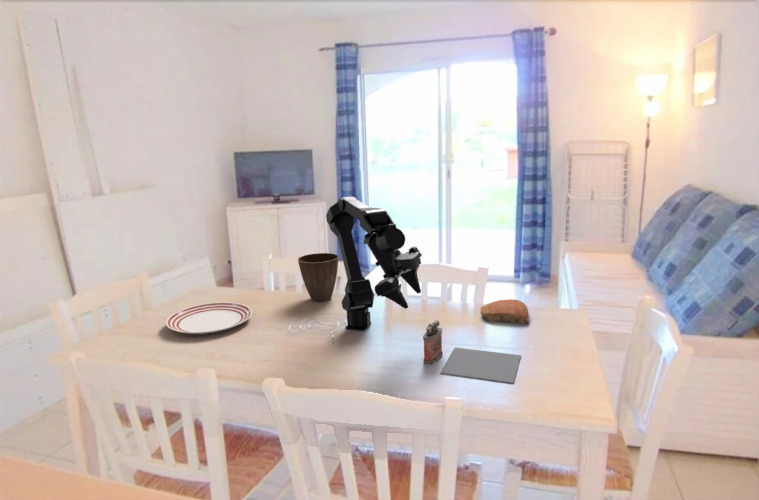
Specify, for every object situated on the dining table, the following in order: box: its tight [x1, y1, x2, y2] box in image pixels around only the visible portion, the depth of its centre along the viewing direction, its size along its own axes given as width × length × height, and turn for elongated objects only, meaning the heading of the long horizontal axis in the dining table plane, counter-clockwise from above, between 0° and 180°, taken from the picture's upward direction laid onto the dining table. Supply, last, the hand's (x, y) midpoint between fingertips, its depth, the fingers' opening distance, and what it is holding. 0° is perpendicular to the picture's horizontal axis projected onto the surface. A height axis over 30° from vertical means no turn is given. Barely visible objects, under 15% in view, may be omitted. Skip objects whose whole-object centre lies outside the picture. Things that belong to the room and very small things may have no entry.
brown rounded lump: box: [479, 298, 529, 325], centre depth 166 cm, size 15×6×15 cm
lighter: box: [422, 319, 443, 366], centre depth 136 cm, size 8×3×10 cm, turn 148°
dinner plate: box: [165, 301, 253, 335], centre depth 169 cm, size 27×27×3 cm
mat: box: [439, 347, 522, 385], centre depth 132 cm, size 18×16×1 cm
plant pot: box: [297, 252, 340, 303], centre depth 189 cm, size 15×15×16 cm
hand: (413, 300), depth 142 cm, fingers open, 9 cm apart
